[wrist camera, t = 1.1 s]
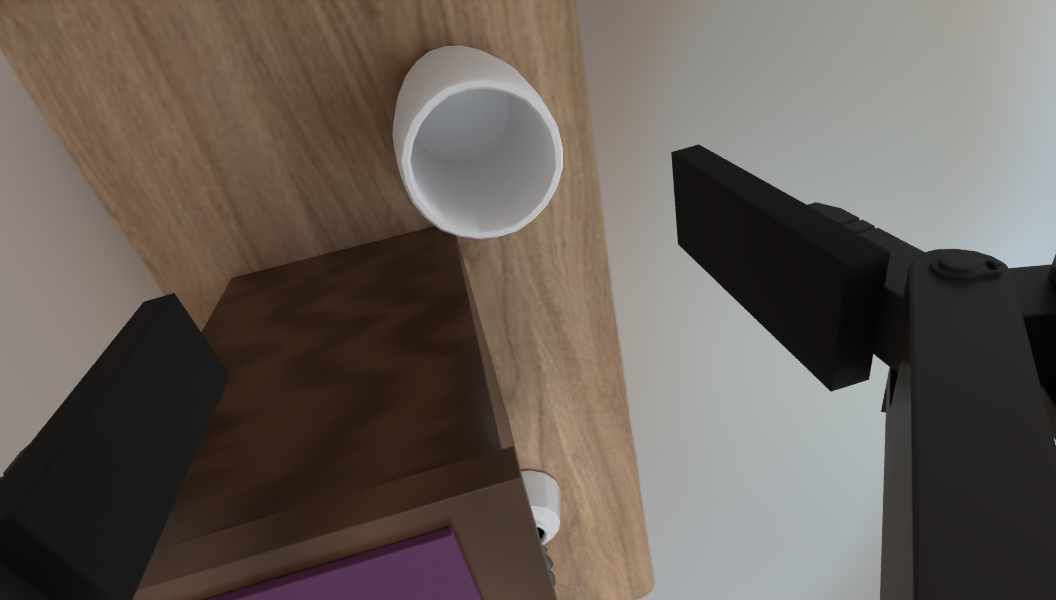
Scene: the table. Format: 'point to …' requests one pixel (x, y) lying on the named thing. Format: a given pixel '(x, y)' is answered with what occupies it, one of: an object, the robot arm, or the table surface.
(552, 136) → the cup
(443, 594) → the purple rectangular slab
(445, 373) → the box
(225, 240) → the table surface
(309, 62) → the table surface
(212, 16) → the table surface
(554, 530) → the inkwell
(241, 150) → the table surface
